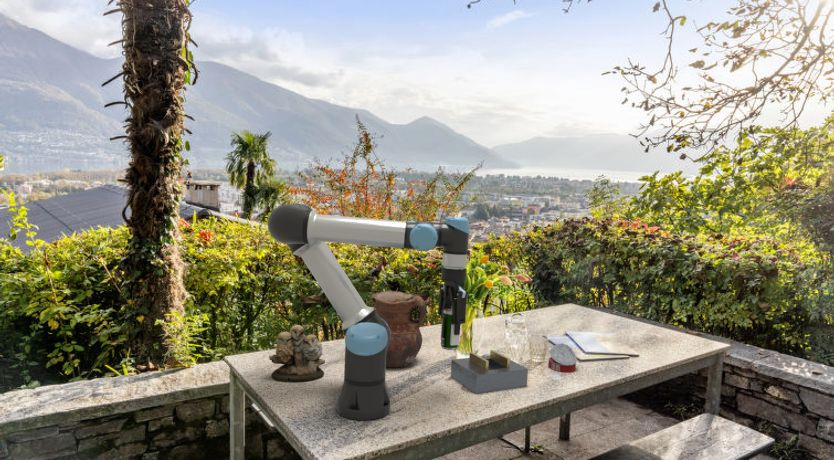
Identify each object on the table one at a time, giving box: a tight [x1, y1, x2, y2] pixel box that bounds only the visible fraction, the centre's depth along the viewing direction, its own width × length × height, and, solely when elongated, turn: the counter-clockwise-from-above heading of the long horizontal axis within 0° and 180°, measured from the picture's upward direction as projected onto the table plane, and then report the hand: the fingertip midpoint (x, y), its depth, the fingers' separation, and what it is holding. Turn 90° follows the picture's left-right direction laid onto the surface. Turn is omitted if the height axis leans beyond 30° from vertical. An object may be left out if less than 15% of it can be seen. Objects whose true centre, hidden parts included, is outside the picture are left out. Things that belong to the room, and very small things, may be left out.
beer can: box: [440, 307, 459, 351], centre depth 152 cm, size 5×5×12 cm
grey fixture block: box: [450, 349, 529, 395], centre depth 168 cm, size 23×18×9 cm
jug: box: [370, 290, 428, 368], centre depth 182 cm, size 22×21×25 cm
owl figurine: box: [268, 324, 326, 383], centre depth 163 cm, size 18×12×17 cm, turn 108°
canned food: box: [547, 343, 578, 374], centre depth 185 cm, size 11×10×10 cm
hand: (449, 341), depth 152 cm, fingers closed on beer can, 5 cm apart
